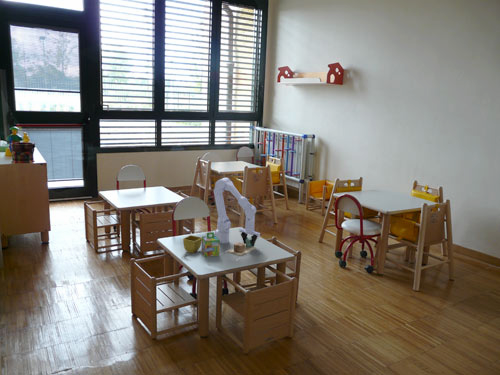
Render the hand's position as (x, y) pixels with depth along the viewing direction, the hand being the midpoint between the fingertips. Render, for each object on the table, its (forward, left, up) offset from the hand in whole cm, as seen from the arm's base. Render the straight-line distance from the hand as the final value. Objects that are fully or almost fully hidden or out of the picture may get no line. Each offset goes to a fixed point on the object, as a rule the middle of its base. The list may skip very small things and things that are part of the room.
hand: (248, 244), depth 276 cm
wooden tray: (0, -8, -3) cm, 8 cm away
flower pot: (-25, -27, -3) cm, 37 cm away
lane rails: (0, -12, -3) cm, 12 cm away
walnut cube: (0, -12, -1) cm, 12 cm away
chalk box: (-12, -25, -3) cm, 28 cm away
